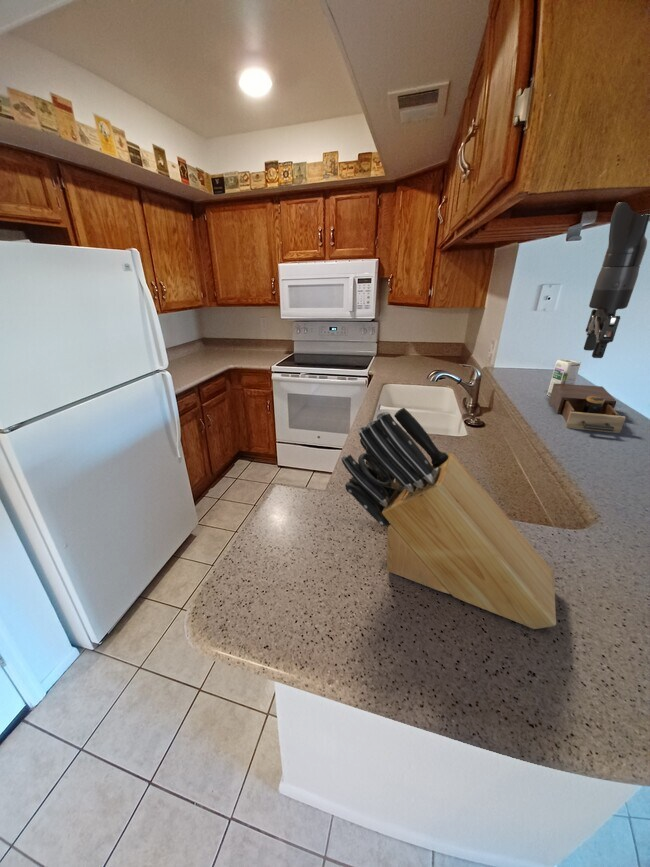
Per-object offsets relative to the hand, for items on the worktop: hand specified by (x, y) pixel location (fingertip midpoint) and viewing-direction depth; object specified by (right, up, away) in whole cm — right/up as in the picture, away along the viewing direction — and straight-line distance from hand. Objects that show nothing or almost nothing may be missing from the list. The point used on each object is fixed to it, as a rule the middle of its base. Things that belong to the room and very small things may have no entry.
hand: (592, 353), depth 87 cm
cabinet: (+19, -14, +30) cm, 38 cm away
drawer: (+14, -19, +19) cm, 30 cm away
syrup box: (+22, -7, +44) cm, 49 cm away
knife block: (-50, -47, -26) cm, 73 cm away
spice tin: (+14, -17, +19) cm, 29 cm away
